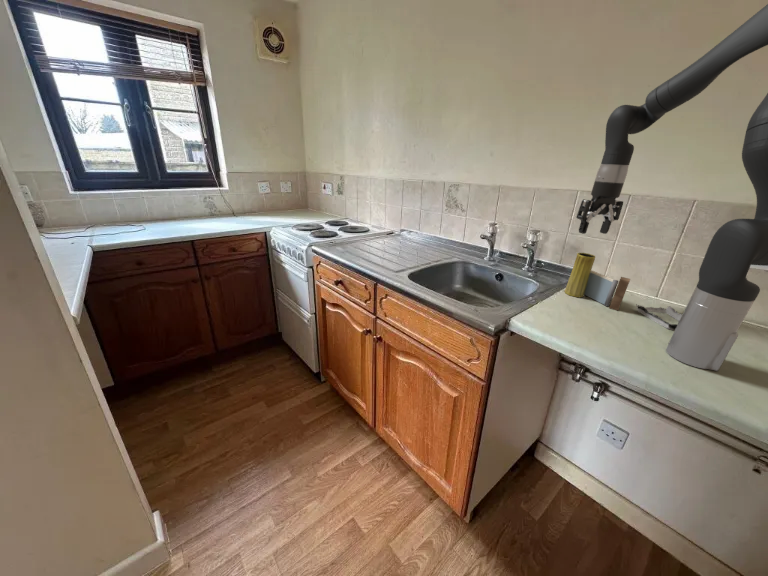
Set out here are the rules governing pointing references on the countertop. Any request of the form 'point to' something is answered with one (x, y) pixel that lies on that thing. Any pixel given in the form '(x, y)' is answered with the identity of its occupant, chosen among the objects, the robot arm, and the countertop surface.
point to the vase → (580, 275)
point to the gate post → (619, 293)
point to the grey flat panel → (600, 288)
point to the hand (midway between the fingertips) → (592, 233)
